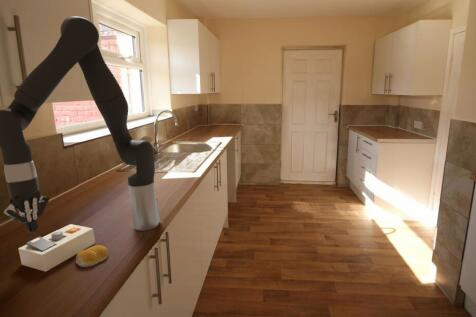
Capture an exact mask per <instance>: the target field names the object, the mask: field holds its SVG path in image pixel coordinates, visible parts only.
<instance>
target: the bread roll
mask: <svg viewBox="0 0 476 317" xmlns="http://www.w3.org/2000/svg"><path fill="white" fill-rule="evenodd" d="M108 255H109V251H108V249H107V247H106V246H103V245H102V244H101V245H100V244H97V245H92V246H90V247H88V248H86V249H84V250H83V251H81V252H79V253H77V254H76V255H75V257H76V258H75V263H76V264H77V266H79V267H81V268H87V267H91V266H95V265H97V264H98V263H102V262H103V261H105V260H106V259H107V258H108Z"/></svg>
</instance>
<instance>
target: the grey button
mask: <svg viewBox="0 0 476 317" xmlns="http://www.w3.org/2000/svg"><path fill="white" fill-rule="evenodd" d="M54 232H55V231H54ZM51 233H52V234H51V236H52V241H55V242H57V241H59V240H61V239H63V238H64V237H63V232H62V231H58V232H55V233H53V232H51Z"/></svg>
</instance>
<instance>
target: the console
mask: <svg viewBox="0 0 476 317" xmlns="http://www.w3.org/2000/svg"><path fill="white" fill-rule="evenodd" d="M72 228H78V231H77V232H75V233H73V234H69V233H68V232H67V231H68V230H69V229H72ZM58 231H62V232H63V237H64V238H63V239H61V240H59V241H57V242H55V241H52V236H51V234H52V233H55V232H58ZM41 238H43V239H45V240H47V241H49V242H51V243H53V244H55V246H53V247H51V248H49V249H47V250H45V251H43V252H39V251H36V250H34V249H32V248H30V247H28V246H27V244H24V245H22V246H20V247H18V248H17V249H18V253H19V258H20V263H21V265H22V266H25V267H29V268H31V269H36V270H39V271H43V272H47V271H50V270H51V269H53V268H55V267H56V266H58V265H60V264H61V263H64V262H65V261H67V260H68V259H70V258H72V257H74V256H77V254H78V253H79V252H81V251H83V250H87V249H88V248H90V247H92V246H94V245H95V244H96V238H95V232H94V228H92V227H87V226H82V225H78V224H77V225H76V224H71V223H70V224H68V225H65V226H64V227H61V228H60V229H57V230H55V231H53V232H51V233H49V234H47V235H45V236H43V237H42V236H41Z"/></svg>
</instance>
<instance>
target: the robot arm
mask: <svg viewBox="0 0 476 317" xmlns="http://www.w3.org/2000/svg"><path fill="white" fill-rule="evenodd" d="M99 39H100V34H99V31H98V27H97V26H96V25H95V24H94V23H93V22H92V21H91V20H89V19H87V18H85V17H83V16H77V15H72V16H67V17H66V18H65V19H64V20H63V21H62V23H61V25H60V37H59V38H58V40H57V43H56V44H55V46H54V47H53V49H52V50H51V51H50V53H49V54H48V55H47V56H46V57H45V58H44V59H43V60H42V61H41V62H40V63H39V64H38V65H36V67H35V68H34V69H32V71H31V72H29V74H28V75H27V76H26V78H25V79H24V80H23V81H22V82H21V84H19V86H18V87H17V89H16V90H15V92H14V94H13V98H14V99H13V100H12V101H11V102H10V105H8V107H7V108H2V109H0V151H1V157H2V161H3V166H4V167H3V168H4V171H3V172H4V176H5V181H6V187H7V190H8V195H9V198H10V199H9V205H8V207H6V208H3V209H2V213H3V214H4V215H6V216H8V217H10V218H11V219H13V220H14V221H15V222H18V223H19V222H20V223H24V229H25V232H28V233H30V234H33V233H35V232H38V228H39V225H38V217H40V216H41V217H42V216H43V213H44V211H45V209H46V207H47V204H48V203H49V201H50V197H48V196H44V195H42V193H41V192H40V186H39V179H38V174H37V173H38V172H37V169H36V165H35V163H34V158H33V153H32V149H31V145H30V143H29V142H27V141H26V139H25V135H24V132H23V131H24V130H26V129H27V128H28V127H29V125H30V124H31V123H32V121H33V120H34V118H35V116H36V114H37V112H38V111H39V109H40V108H41V107H42V106H43V105H44V103H45V102H46V101H47V100H48V98H49V97H50V96H51V95H52V94H53V92H54V90H56V88H57V87H58V85H59V84H60V83H61V81H62V80H63V79H64V78H65V76H66V75H68V73H69V72H70V71H71V69H73V68H74V66H75V65H77V64H78V66H79V68H80V69H81V73H82V74H83V77H84V79H85V83H86V85H87V87H88V88H87V89H88V90H89V92H90V94H91V97H92V99H93V101H94V103H95V105H96V108H97V109H98V111H99V114H100V115H101V116H102V118H103V120H104V123H105V125H106V127H107V129H108V131H109V134H110V136H111V138H112V141H113V143H114V146H115V149H116V151H117V154H118V157H119V159H120V160H121V161H122V163H124V164H125V165H129V166H135V167H136V170H135V173H133V174H131V175H129V176H128V177H127V184H128V185H127V186H128V192H129V200H130V201H129V202H130V207H131V215H132V223H133V229H134V230H135V231H139V232H143V231H144V232H145V231H150V230H153V229H155V228H157V227H158V226H159V224H160V223H161V217H160V208H159V207H160V206H159V200H158V198H157V197H156V195H157V194H156V186H155V173H156V169H155V168H156V167H155V151H154V149H153V148H154V147H153V144H151V142H150V141H148V140H140V139H139V140H138V139H134V138H132V136H131V133H130V132H129V129H128V128H129V127H128V118H129V117H128V115H129V104H128V101H127V98H126V97H125V94H124V92H123V89H122V87H121V85H120V84H119V82H118V81H117V79H116V77H115V75H114V74H113V72H112V70H111V69H110V68H109V66H108V65H107V63H106V62H105V60H104V57H103V55H102V53H101V50H100V47H99V45H98V43H99ZM16 211H18V212H19V213H17V212H16Z"/></svg>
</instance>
